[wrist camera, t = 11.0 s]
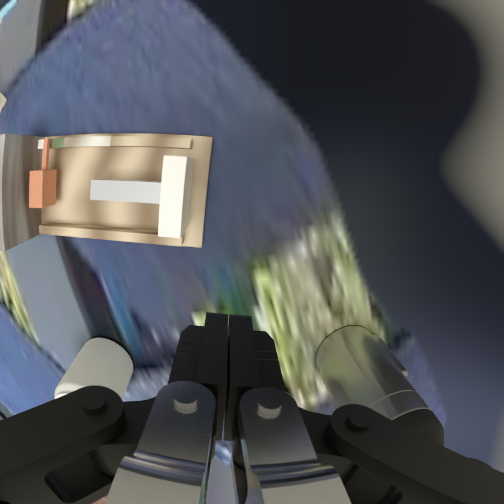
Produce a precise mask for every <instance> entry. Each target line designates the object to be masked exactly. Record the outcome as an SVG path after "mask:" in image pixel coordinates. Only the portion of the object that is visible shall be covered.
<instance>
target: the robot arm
mask: <svg viewBox="0 0 504 504" xmlns="http://www.w3.org/2000/svg"><path fill="white" fill-rule="evenodd" d="M316 365H317V367H318V370H319V373H320V374H321V376H322V379H323V381H324V383H325V386H326V388H327V390H328V392H329V395H330V397H331V399H332V402H333V404H334V406H335V408H336V410H335V411H334V412H333V414H332V416H331V415H325V414H320V413H314V412H310V411H307V410H304V409H302V408H300V407H298V405H297V403H296V401H295V400H294V398H293V397H292V396H291V395H290V394H288V393H287V392H286V390H285V386H284V382H283V377H282V373H281V369H280V365H279V361H278V356H277V352H276V347H275V343H274V340H273V339H272V338H271V337H270V336H269V334H268V333H267V332H266V331H253V326H252V318H251V316H243V315H231V314H230V315H229V323H228V314H219V313H209V312H207V313H206V319H205V326H195V325H189V326H188V327H187V328H186V329H185V330H183V331H182V332H181V335H180V339H179V344H178V346H177V350H176V354H175V358H174V362H173V365H172V369H171V373H170V377H169V381H168V384H167V385H165V386H164V387H162V388H161V389H160V390H159V392H158V394H157V396H156V397H154V398H151V399H148V400H143V401H129V402H122V399H121V397H120V396H119V395H118V394H117V393H116V392H115V391H113V390H112V389H110V388H107V387H104V386H98V385H92V386H86V387H82V388H80V389H77V390H75V391H73V392H70V393H68V394H66V395H63V396H61V397H59V398H56V399H54V400H51V401H49V402H47V403H44V404H42V405H39V406H37V407H34V408H32V409H29V410H27V411H24V412H22V413H19V414H16V415H14V416H11V417H9V418H6V419H3V420H0V504H92V503H94V502H96V501H98V500H99V499H101V498H103V497H105V496H107V495H108V496H107V499H106V501H105V504H206V500H207V493H208V486H209V478H210V470H211V463H212V459H213V457H214V453H215V441H216V440H221V439H222V430H223V420H224V440H227V441H232V456H231V469H232V477H233V485H234V491H235V499H236V504H504V473H503V472H500V471H497V470H495V469H493V468H492V467H490V466H489V465H487V464H486V463H484V462H482V461H479V460H477V459H473V458H467V457H465V456H462V455H460V454H458V453H456V452H454V451H452V450H449V449H447V448H445V447H444V430H443V427H442V424H441V423H440V421H439V420H438V418H437V417H436V416H435V414H434V413H433V412H432V411H431V409H430V408H429V407H428V405H427V404H426V403H425V401H424V400H423V399H422V397H421V396H420V395H419V393H418V392H417V391H416V390H415V388H414V387H413V386H412V384H411V383H410V382H409V381H408V379H407V378H406V377H407V375H408V371H407V369H406V368H405V367H404V366H403V365H402V363H401V362H400V361H399V360H398V358H397V357H396V356H395V355H394V354H393V352H392V351H391V350H390V349H389V348H388V346H387V345H386V344H385V343H384V342H383V340H382V339H381V338H380V337H379V336H378V334H371V333H370V332H369V331H368V330H367V329H365V328H363V327H360V326H348V327H344V328H341V329H339V330H337V331H335V332H333V333H332V334H331V335H329V336H328V337H327V338H326V339H325V340H324V341H323V342H322V344H321V345H320V347H319V349H318V351H317V354H316Z"/></svg>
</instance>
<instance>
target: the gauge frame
mask: <svg viewBox="0 0 504 504" xmlns="http://www.w3.org/2000/svg"><path fill="white" fill-rule="evenodd" d="M44 139H51V140H50V151H49V163H48V170H49V169H57V178H56V204H55V205H51V206H48V207H45V208H29V179H30V171H34V170H41V168H42V154H43V143H44ZM212 141H213V137H204V136H190V135H172V134H138V133H115V134H82V135H65V136H52V137H39V136H27V135H14V134H2V135H0V250H1V251H6V250H8V249H10V248H12V247H14V246H16V245H18V244H20V243H22V242H24V241H27V240H29V239H31V238H33V237H35V236H37V235H40V234H49V235H60V236H71V237H82V238H94V239H105V240H116V241H127V242H138V243H149V244H160V245H171V246H189V247H200V248H202V241H203V229H204V217H205V206H206V196H207V186H208V176H209V167H210V158H211V150H212ZM164 155H166V156H183V157H190V158H193V159H194V168H193V178H192V188H191V199H190V211H189V224H188V226H187V228H186V230H185V231H184V233H183V234H182V236H181V238H171V237H160V236H158V223H159V206H160V204H154V203H139V202H123V201H105V200H90V188H91V180H93V179H123V180H145V181H161V179H162V168H163V158H164Z"/></svg>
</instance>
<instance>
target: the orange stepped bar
mask: <svg viewBox="0 0 504 504" xmlns="http://www.w3.org/2000/svg"><path fill="white" fill-rule="evenodd" d="M50 140H51V139H44V143H43V154H42V168H41V170H34V171H30V179H29V208H45V207H48V206H51V205H55V204H56V178H57V169H49V170H48V163H49V151H50Z"/></svg>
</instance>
